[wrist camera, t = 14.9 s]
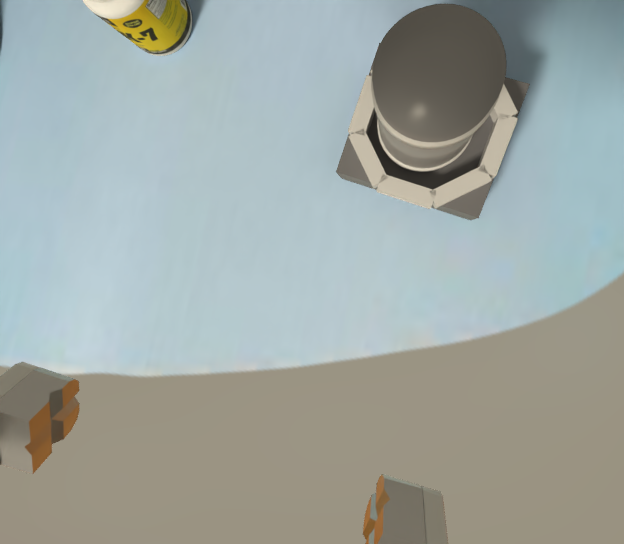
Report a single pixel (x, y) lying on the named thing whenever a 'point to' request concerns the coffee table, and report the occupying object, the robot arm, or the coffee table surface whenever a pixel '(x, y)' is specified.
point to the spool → (435, 84)
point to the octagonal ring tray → (441, 183)
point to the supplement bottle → (148, 22)
